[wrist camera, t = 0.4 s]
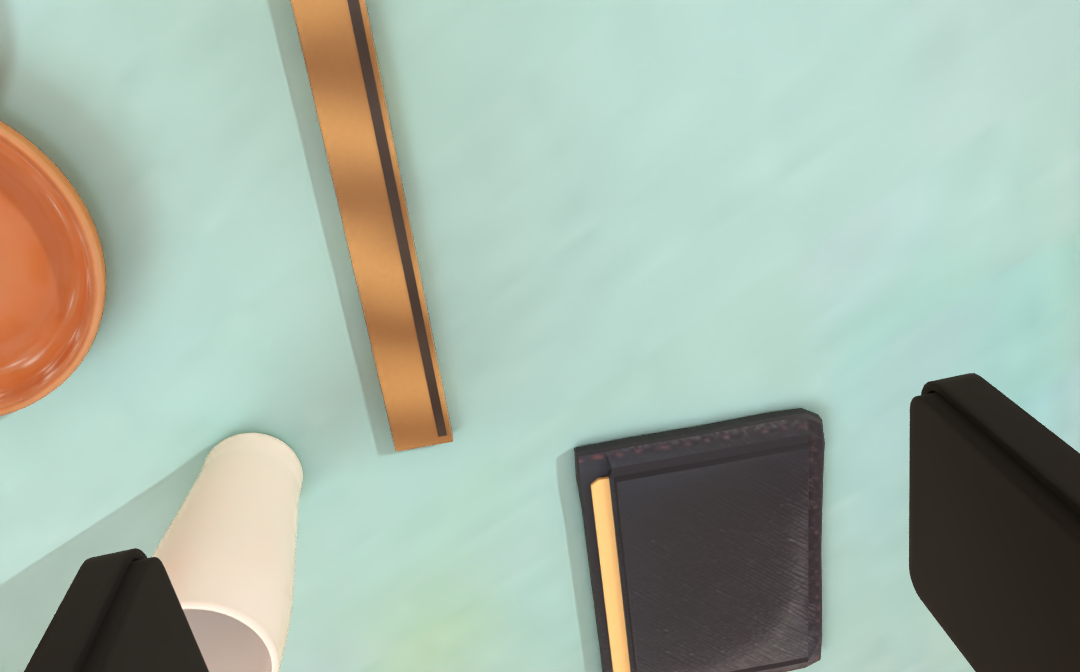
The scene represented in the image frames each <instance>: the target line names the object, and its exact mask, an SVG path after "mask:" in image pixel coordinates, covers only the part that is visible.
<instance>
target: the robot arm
mask: <svg viewBox="0 0 1080 672" xmlns="http://www.w3.org/2000/svg"><path fill="white" fill-rule="evenodd" d="M909 570H910V576H911V580H912V583H913V586H914V588H915V590H916V593H917V594H918V596H919V597H920V599H921V600H922V602H923V603H924V604H925V606H926V607H927V608H928V610H929V611H930V612H931V614H932V615H933V616H934V617H935V619H936V620H937V621H938V623H939V624H940V625H941V627H942V628H943V629H944V631H945V632H946V633H947V635H948V636H949V637H950V639H951V640H952V641H953V642H954V644H955V645H956V646H957V648H958V649H959V650H960V652H961V653H962V654H963V656H964V657H965V658H966V660H967V661H968V662H969V664H970V665H971V666H972V668H973V669H974V670H975V671H976V672H1080V453H1078V452H1077V451H1076V450H1074V449H1073V448H1072V447H1071V446H1069V445H1068V444H1067V443H1065V442H1064V441H1063V440H1062V439H1060V438H1059V437H1058V436H1056V435H1055V434H1054V433H1053V432H1051V431H1050V430H1049V429H1047V428H1046V427H1045V426H1044V425H1042V424H1041V423H1040V422H1038V421H1037V420H1036V419H1035V418H1033V417H1032V416H1031V415H1029V414H1028V413H1027V412H1026V411H1024V410H1023V409H1022V408H1020V407H1019V406H1018V405H1017V404H1015V403H1014V402H1013V401H1011V400H1010V399H1009V398H1008V397H1006V396H1005V395H1004V394H1003V393H1001V392H1000V391H999V390H997V389H996V388H995V387H994V386H992V385H991V384H990V383H988V382H987V381H986V380H985V379H983V378H982V377H981V376H979V375H977V374H975V373H969V374H964V375H959V376H955V377H950V378H945V379H940V380H935V381H931V382H928V383H926V384H925V385H924V387H923V389H922V393H921V396H916V397H914V398H913V399H912V401H911V404H910V492H909ZM24 672H209V670H208V668H207V665H206V663H205V661H204V658H203V656H202V654H201V651H200V649H199V647H198V644H197V642H196V640H195V637H194V635H193V633H192V630H191V628H190V626H189V623H188V621H187V618H186V616H185V614H184V611H183V609H182V607H181V604H180V602H179V600H178V597H177V595H176V593H175V590H174V588H173V586H172V583H171V581H170V579H169V576H168V574H167V571H166V569H165V567H164V565H163V563H162V561H161V560H160V559H159V558H157V557H151V558H147V557H146V555H145V554H144V553H143V552H142V551H141V550H139V549H136V548H135V549H130V550H126V551H121V552H116V553H111V554H107V555H102V556H97V557H92V558H89V559H87V560H86V561H85V562H84V563H83V564H82V566H81V567H80V569H79V571H78V573H77V575H76V577H75V578H74V580H73V582H72V584H71V586H70V588H69V590H68V591H67V593H66V595H65V597H64V599H63V601H62V602H61V604H60V606H59V608H58V610H57V612H56V614H55V615H54V617H53V619H52V621H51V623H50V625H49V626H48V628H47V630H46V632H45V634H44V636H43V638H42V639H41V641H40V643H39V645H38V647H37V649H36V650H35V652H34V654H33V656H32V658H31V660H30V662H29V663H28V665H27V667H26V669H25V671H24Z"/></svg>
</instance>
